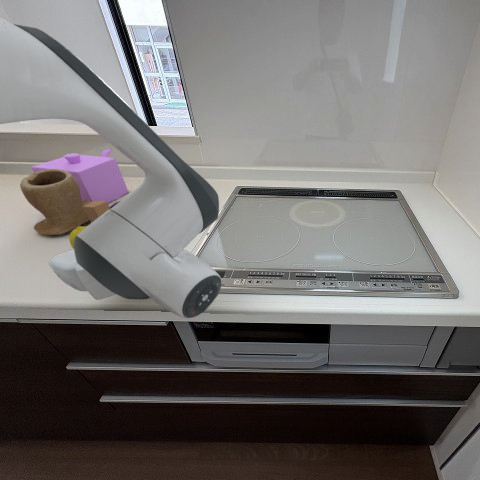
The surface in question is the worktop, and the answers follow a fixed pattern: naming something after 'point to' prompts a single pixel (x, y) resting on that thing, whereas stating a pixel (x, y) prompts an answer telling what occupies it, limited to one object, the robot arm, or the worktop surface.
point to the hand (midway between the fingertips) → (107, 231)
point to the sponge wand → (96, 209)
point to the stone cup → (55, 200)
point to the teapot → (91, 175)
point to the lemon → (75, 234)
